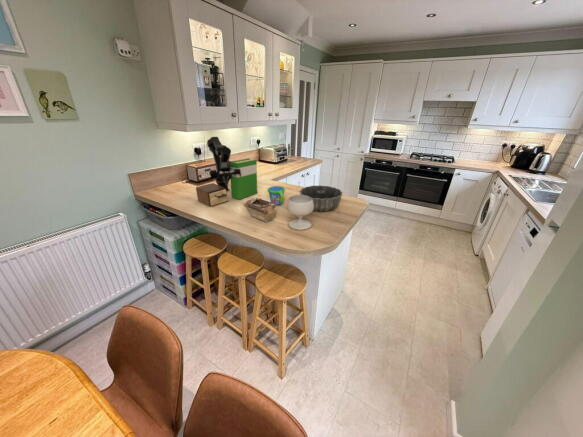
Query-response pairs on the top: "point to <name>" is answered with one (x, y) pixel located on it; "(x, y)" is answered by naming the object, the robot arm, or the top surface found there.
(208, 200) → the cabinet
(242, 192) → the green cereal box
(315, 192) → the bundt pan
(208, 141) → the robot arm
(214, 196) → the drawer
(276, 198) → the snack cup
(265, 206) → the lined basket
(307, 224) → the chalice
